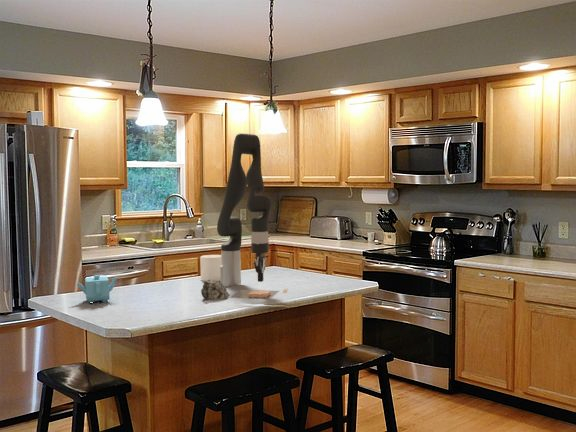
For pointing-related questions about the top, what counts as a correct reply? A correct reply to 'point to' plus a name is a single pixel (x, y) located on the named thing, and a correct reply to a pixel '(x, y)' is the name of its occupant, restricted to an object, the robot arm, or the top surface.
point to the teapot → (97, 288)
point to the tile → (259, 294)
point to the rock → (214, 290)
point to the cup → (210, 267)
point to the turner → (284, 290)
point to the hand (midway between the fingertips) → (260, 281)
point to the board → (245, 292)
